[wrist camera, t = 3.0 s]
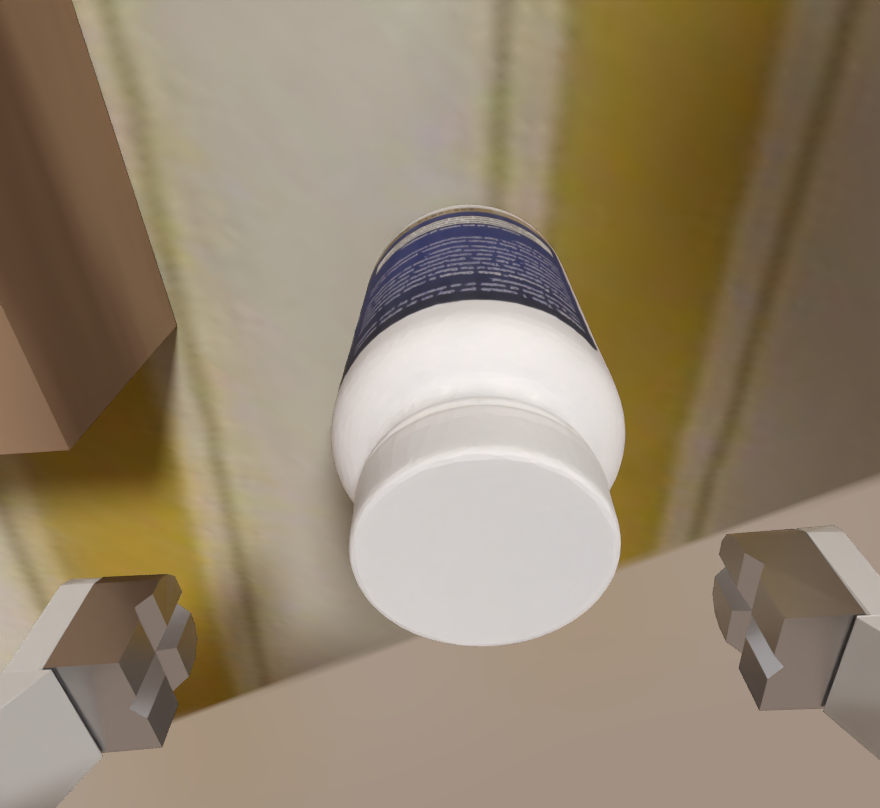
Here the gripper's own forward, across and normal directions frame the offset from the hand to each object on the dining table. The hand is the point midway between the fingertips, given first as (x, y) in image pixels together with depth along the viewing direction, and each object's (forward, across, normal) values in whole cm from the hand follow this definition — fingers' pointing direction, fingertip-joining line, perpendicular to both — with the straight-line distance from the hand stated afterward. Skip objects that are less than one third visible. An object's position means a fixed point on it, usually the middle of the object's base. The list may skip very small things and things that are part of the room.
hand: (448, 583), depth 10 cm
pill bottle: (+10, -1, -1) cm, 10 cm away
